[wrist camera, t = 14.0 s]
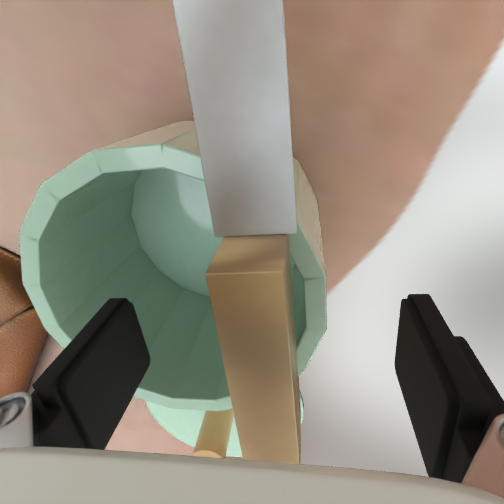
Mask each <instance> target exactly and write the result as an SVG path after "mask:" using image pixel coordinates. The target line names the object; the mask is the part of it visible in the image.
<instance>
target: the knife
mask: <svg viewBox="0 0 504 504" xmlns="http://www.w3.org/2000/svg"><path fill="white" fill-rule="evenodd" d="M172 2H173V8H174V13H175V19H176V24H177V30H178V35H179V41H180V47H181V52H182V58H183V63H184V69H185V75H186V80H187V86H188V91H189V97H190V102H191V108H192V114H193V119H194V125H195V130H196V136H197V142H198V147H199V153H200V158H201V164H202V169H203V175H204V181H205V186H206V192H207V197H208V203H209V208H210V214H211V220H212V225H213V231H214V236H215V237H224V238H223V240H222V242H221V244H220V245H219V247H218V249H217V251H216V253H215V255H214V257H213V259H212V261H211V263H210V265H209V267H208V269H207V271H206V273H205V276H206V281H207V286H208V290H209V295H210V300H211V305H212V310H213V315H214V320H215V325H216V330H217V335H218V339H219V344H220V349H221V354H222V359H223V364H224V369H225V374H226V379H227V384H228V388H229V393H230V398H231V403H232V408H233V413H234V418H235V423H236V428H237V433H238V437H239V442H240V447H241V452H242V457H243V460H254V461H266V462H279V463H292V464H300V446H301V444H300V441H301V437H300V436H301V405H300V391H299V377H298V363H297V349H296V335H295V321H294V307H293V293H292V279H291V265H290V251H289V237H288V234H292V233H296V232H297V222H296V205H295V187H294V170H293V153H292V136H291V119H290V102H289V84H288V67H287V50H286V33H285V16H284V0H172Z"/></svg>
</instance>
